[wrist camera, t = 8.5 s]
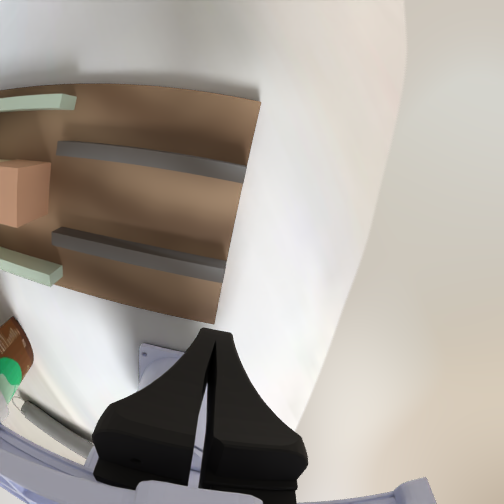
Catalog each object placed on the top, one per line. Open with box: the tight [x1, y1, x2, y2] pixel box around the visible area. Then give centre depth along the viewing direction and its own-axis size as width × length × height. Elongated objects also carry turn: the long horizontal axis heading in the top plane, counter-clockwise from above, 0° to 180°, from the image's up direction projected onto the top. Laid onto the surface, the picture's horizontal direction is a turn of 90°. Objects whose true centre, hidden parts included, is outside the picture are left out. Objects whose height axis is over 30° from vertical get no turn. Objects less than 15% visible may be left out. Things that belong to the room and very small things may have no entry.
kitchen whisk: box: [12, 396, 94, 459], centre depth 28 cm, size 6×34×6 cm, turn 58°
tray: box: [0, 94, 77, 287], centre depth 17 cm, size 14×11×2 cm
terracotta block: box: [0, 159, 51, 228], centre depth 16 cm, size 4×4×4 cm
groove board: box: [0, 84, 261, 324], centre depth 18 cm, size 16×24×2 cm, turn 78°
